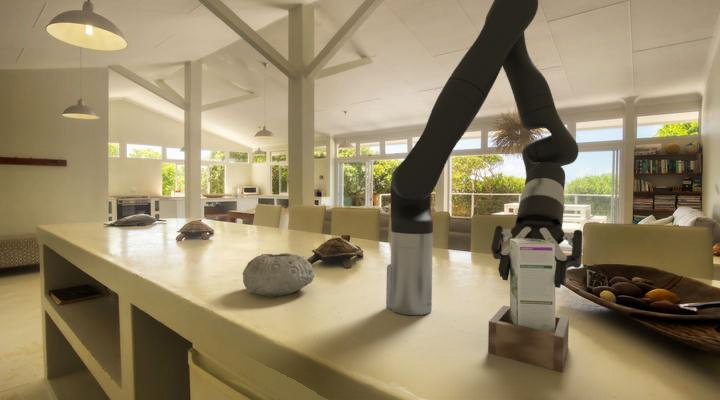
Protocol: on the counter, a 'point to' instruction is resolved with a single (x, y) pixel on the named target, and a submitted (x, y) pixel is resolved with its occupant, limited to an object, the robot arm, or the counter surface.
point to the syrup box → (532, 283)
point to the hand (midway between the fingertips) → (529, 281)
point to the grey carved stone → (277, 274)
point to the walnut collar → (529, 341)
